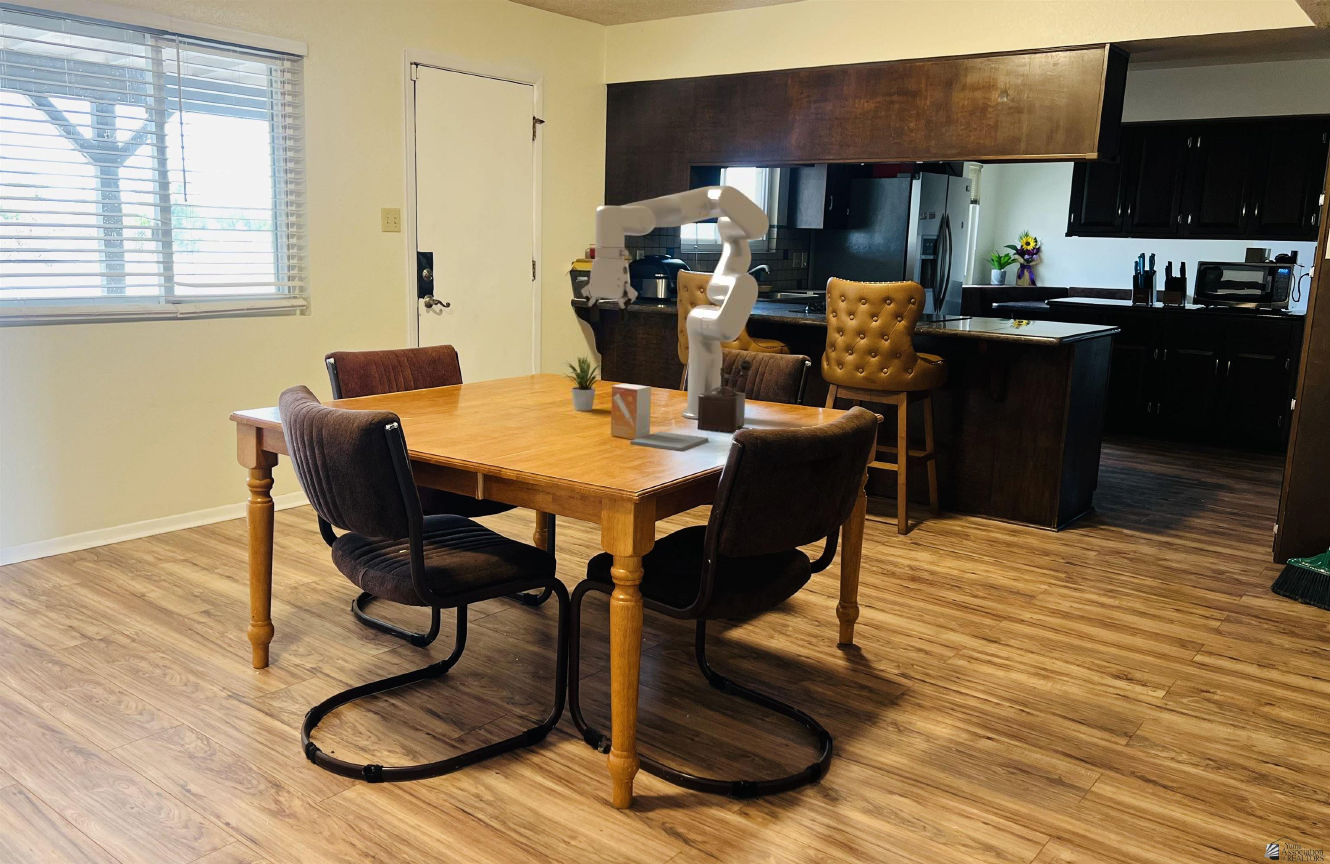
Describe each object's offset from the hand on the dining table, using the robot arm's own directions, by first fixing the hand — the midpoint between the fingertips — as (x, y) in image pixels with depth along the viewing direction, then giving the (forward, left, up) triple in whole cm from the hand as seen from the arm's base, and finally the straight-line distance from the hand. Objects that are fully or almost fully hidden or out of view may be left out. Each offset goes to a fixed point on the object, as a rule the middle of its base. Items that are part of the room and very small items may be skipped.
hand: (608, 322), depth 268 cm
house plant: (-19, -21, -28) cm, 40 cm away
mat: (+9, +24, -28) cm, 38 cm away
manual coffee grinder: (-19, +26, -28) cm, 43 cm away
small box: (+8, +12, -28) cm, 32 cm away
